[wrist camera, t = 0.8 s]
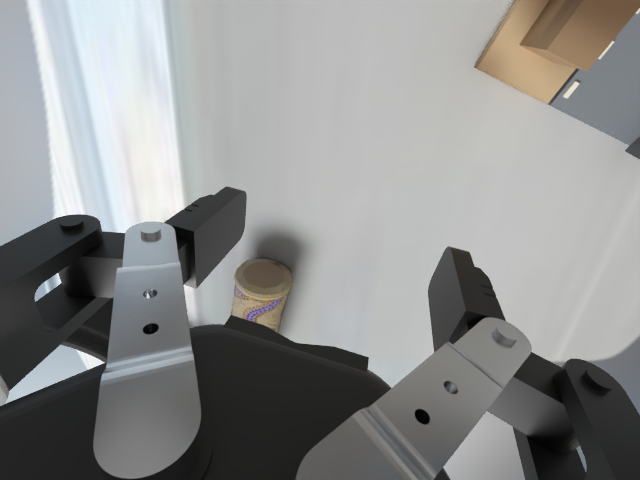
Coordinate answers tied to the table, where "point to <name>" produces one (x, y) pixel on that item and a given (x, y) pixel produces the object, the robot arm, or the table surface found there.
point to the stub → (552, 41)
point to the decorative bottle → (261, 291)
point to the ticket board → (609, 89)
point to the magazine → (93, 333)
